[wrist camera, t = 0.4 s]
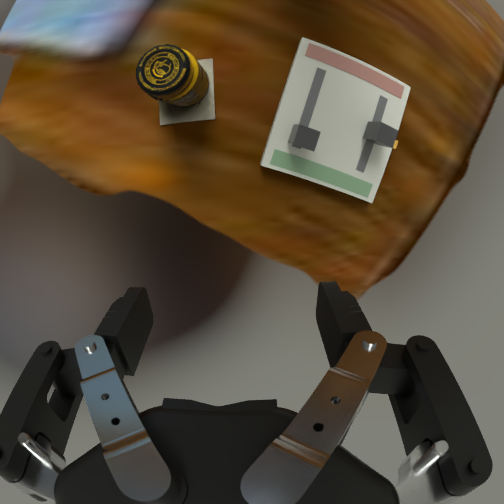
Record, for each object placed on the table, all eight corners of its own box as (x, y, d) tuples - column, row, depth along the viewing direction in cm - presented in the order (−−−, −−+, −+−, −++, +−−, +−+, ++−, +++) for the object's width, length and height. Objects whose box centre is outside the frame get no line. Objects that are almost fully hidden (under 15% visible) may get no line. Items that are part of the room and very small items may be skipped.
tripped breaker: (368, 121, 31) (381, 121, 28) (383, 129, 32) (398, 130, 28) (362, 137, 32) (375, 140, 29) (378, 145, 33) (392, 148, 29)
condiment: (212, 58, 30) (197, 31, 19) (215, 119, 34) (200, 115, 23) (158, 66, 30) (122, 46, 19) (160, 125, 34) (124, 127, 23)
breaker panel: (299, 41, 29) (302, 36, 27) (406, 89, 31) (413, 88, 29) (260, 163, 36) (260, 165, 34) (369, 200, 38) (375, 204, 36)
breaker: (293, 124, 32) (299, 124, 28) (312, 131, 32) (320, 131, 28) (287, 142, 33) (292, 144, 29) (306, 148, 33) (314, 151, 29)
